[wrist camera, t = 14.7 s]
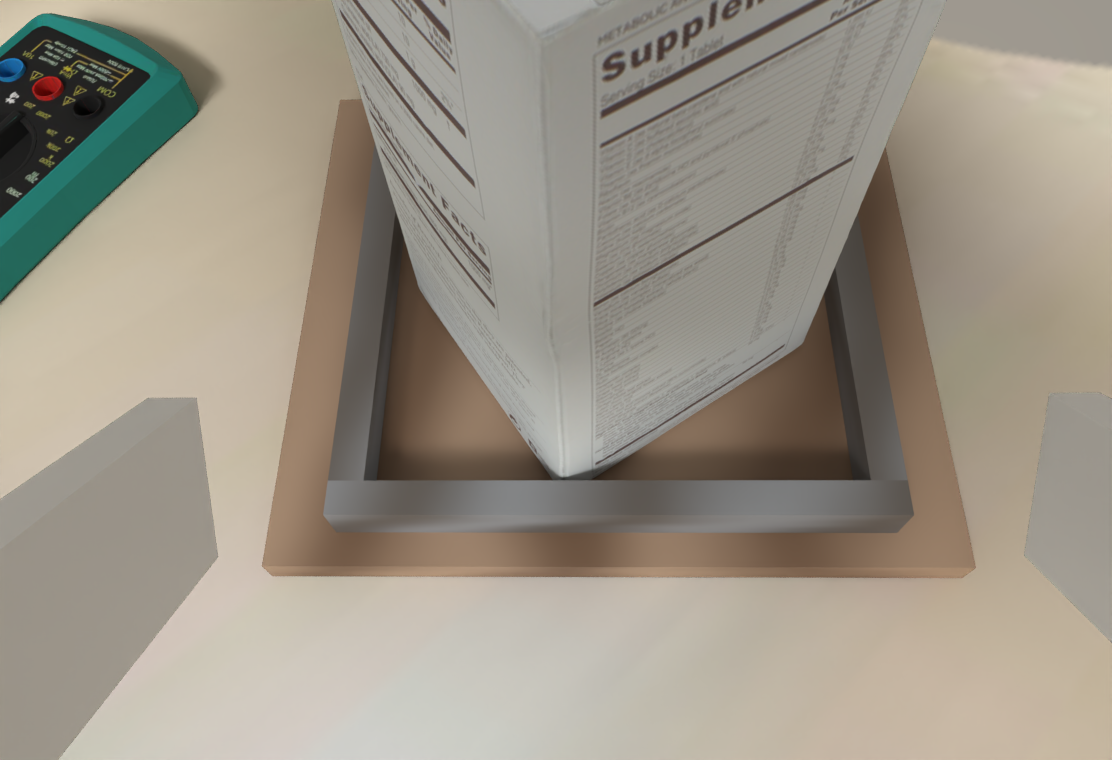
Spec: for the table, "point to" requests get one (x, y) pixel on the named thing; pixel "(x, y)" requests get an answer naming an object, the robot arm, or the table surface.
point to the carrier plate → (638, 480)
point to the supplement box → (627, 188)
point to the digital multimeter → (74, 128)
